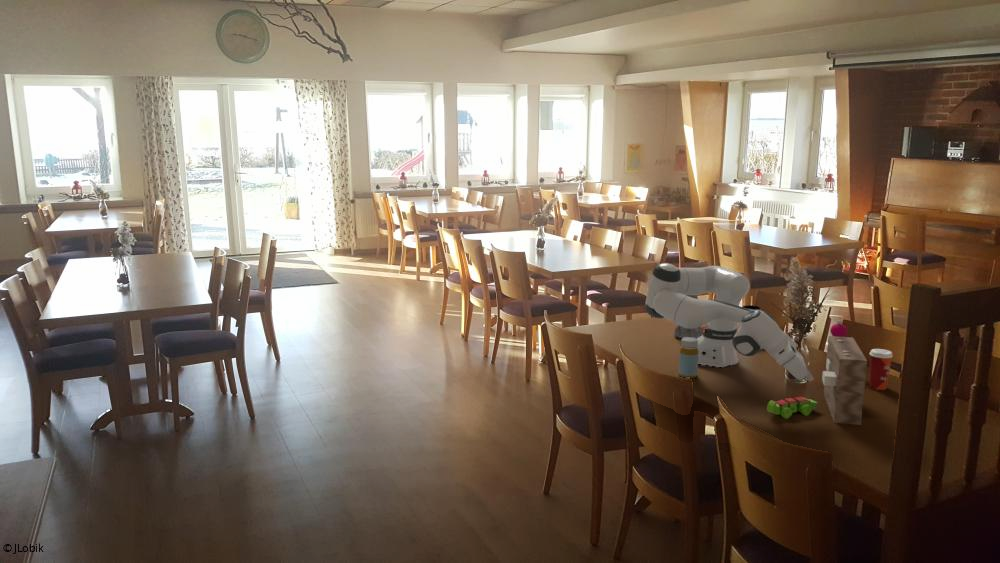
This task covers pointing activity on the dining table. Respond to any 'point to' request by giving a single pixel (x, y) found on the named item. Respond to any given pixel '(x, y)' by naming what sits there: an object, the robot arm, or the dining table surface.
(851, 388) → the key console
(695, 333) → the bottle
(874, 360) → the paper cup
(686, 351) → the bottle
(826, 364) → the grey block
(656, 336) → the dining table surface
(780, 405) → the toy crocodile
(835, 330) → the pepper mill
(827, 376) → the off-white rectangular block
